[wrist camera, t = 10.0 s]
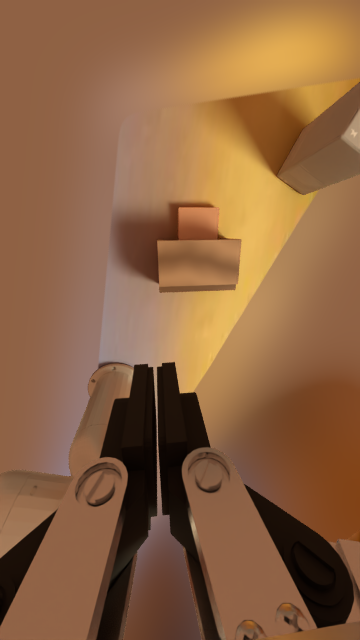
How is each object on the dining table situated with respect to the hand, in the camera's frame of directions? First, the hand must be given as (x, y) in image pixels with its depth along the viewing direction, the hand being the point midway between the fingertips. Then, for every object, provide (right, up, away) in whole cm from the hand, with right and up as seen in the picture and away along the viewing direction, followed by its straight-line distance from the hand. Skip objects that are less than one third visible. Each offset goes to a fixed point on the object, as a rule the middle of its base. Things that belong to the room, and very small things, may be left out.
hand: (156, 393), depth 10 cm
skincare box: (+22, +31, +30) cm, 48 cm away
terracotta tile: (+4, +18, +33) cm, 38 cm away
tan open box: (+3, +14, +34) cm, 37 cm away
